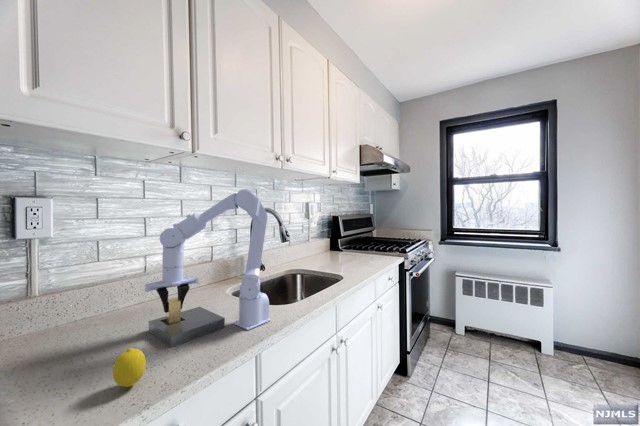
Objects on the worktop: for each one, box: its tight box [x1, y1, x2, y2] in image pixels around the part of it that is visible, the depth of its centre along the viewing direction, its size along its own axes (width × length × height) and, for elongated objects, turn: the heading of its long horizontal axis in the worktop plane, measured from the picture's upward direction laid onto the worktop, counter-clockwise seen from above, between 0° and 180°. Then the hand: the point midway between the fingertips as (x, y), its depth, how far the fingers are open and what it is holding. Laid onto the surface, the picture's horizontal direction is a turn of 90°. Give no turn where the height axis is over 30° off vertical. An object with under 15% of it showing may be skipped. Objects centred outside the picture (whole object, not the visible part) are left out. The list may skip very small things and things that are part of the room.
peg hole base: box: [148, 306, 226, 348], centre depth 81 cm, size 16×16×3 cm
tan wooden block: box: [165, 297, 182, 325], centre depth 80 cm, size 3×4×7 cm
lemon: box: [112, 347, 147, 388], centre depth 54 cm, size 6×6×8 cm
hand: (172, 310), depth 80 cm, fingers closed on tan wooden block, 3 cm apart
